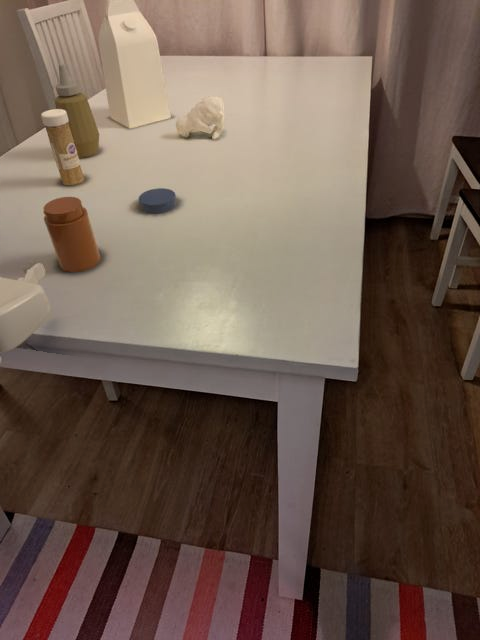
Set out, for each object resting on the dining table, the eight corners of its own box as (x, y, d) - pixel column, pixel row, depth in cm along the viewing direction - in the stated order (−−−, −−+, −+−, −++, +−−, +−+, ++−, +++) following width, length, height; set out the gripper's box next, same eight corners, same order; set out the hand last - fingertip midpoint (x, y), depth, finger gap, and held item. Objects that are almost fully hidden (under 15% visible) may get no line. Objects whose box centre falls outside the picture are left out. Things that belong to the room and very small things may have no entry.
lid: (177, 212, 82) (175, 202, 81) (140, 216, 82) (138, 206, 80) (176, 195, 87) (174, 186, 86) (141, 199, 87) (139, 190, 85)
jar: (52, 264, 71) (31, 208, 65) (83, 247, 75) (66, 191, 68) (77, 277, 68) (57, 219, 62) (108, 258, 72) (92, 201, 66)
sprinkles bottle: (78, 187, 92) (58, 116, 83) (57, 185, 93) (35, 115, 84) (88, 177, 95) (70, 108, 86) (68, 176, 96) (48, 107, 87)
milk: (150, 108, 129) (132, -6, 112) (171, 117, 121) (155, -3, 104) (110, 118, 124) (85, 0, 107) (129, 128, 116) (105, 4, 99)
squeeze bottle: (73, 147, 108) (49, 61, 97) (107, 146, 108) (87, 59, 96) (62, 161, 102) (34, 71, 91) (97, 160, 102) (75, 69, 90)
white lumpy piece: (222, 99, 102) (169, 107, 103) (228, 138, 108) (178, 145, 109) (223, 91, 107) (172, 99, 108) (228, 128, 112) (180, 136, 113)
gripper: (-137, 335, 53) (-45, 269, 63) (5, 375, 47) (83, 295, 57) (-172, 291, 49) (-67, 228, 59) (-20, 329, 43) (68, 251, 53)
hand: (8, 261), depth 58 cm, fingers open, 8 cm apart
